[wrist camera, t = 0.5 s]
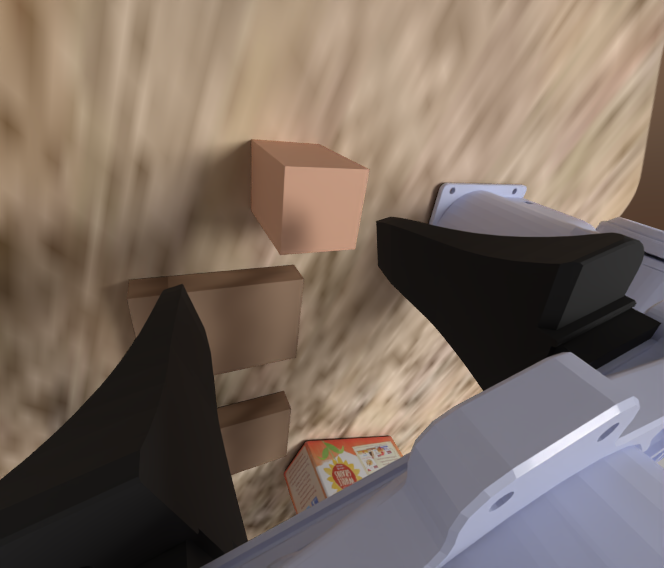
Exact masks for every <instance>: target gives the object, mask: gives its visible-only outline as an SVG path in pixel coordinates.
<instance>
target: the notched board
mask: <svg viewBox="0 0 664 568" xmlns="http://www.w3.org/2000/svg"><path fill="white" fill-rule="evenodd" d="M303 283H304V279H303V277H302V276H301V274H300V273H299V271H298V270H297V268H296V267H295V266H294V265H288V266H277V267H266V268H255V269H244V270H233V271H222V272H211V273H200V274H189V275H178V276H167V277H156V278H145V279H135V280H129V285H128V294H127V302H128V306H129V310H130V315H131V319H132V323H133V328H134V332H135V336H136V337H137V336H138V334H139V333H140V331H141V329H142V328H143V326H144V324H145V322H146V321H147V319H148V317H149V315H150V313H151V312H152V310H153V308H154V306H155V304H156V302H157V300H158V298H159V297H160V295H161V293H162V291H163V290H165V289H168V288H171V287H174V286H177V285H180V284H183V285H184V287H185V289H186V291H187V293H188V295H189V297H190V299H191V301H192V303H193V305H194V308H195V310H196V312H197V314H198V316H199V318H200V320H201V322H202V324H203V326H204V328H205V331H206V335H207V338H208V342H209V347H210V351H211V357H212V366H213V375H217V374H222V373H227V372H231V371H236V370H241V369H245V368H250V367H254V366H259V365H264V364H268V363H273V362H278V361H282V360H287V359H291V358H296V353H297V343H298V333H299V323H300V313H301V303H302V293H303ZM217 413H218V419H219V425H220V429H221V434H222V438H223V443H224V447H225V452H226V456H227V460H228V465H229V469H230V473H231V475H233V474H236V473H238V472H241V471H244V470H247V469H250V468H253V467H256V466H259V465H262V464H265V463H268V462H270V461H273V460H276V459H279V458H282V457H285V456H286V453H287V443H288V433H289V423H290V413H291V408H290V405H289V403H288V400H287V398H286V395H285V393H284V391H282V392H279V393H275V394H271V395H267V396H263V397H259V398H255V399H251V400H247V401H243V402H240V403H236V404H232V405H228V406H224V407H220V408H217Z"/></svg>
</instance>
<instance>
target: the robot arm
mask: <svg viewBox="0 0 664 568" xmlns="http://www.w3.org/2000/svg"><path fill="white" fill-rule="evenodd" d="M451 188H452V189H451ZM450 190H451V191H450ZM525 192H526V186H524V185H520V184H477V183H444V184H443V185H442V186H441V187H440V189H439V192H438V196H437V199H436V202H435V206H434V209H433V212H432V216H431V219H430V222H429V224H426V223H421V222H417V221H413V220H408V219H403V218H397V217H388V218H385V219H382V220H379V221H376V225H377V250H378V266H379V268H380V269H381V270H382V272H383V273H384V275H385V276H386V277H387V279H388V280H389V281H390V282H391V284H392V285H393V286H394V287H395V288H396V289H397V290H398V291H399V292H400V293H401V294H402V295H403V296H404V297H405V298H406V299H407V300H408V301H409V302H411V303H412V304H413V305H414V306H415V307H416V308H417V309H418V310H419V311H420V312H421V313H422V314H423V315H424V316H425V317H426V318H427V319H428V320H429V321H430V322H431V323H432V324H433V325H434V326H435V327H436V329H437V330H438V331H439V332H440V334H441V335H442V336H443V337H444V338H445V340H446V341H447V342H448V343H449V345H450V346H451V347H452V348H453V350H454V351H455V352H456V354H457V355H458V356H459V358H460V359H461V360H462V361H463V363H464V364H465V365H466V367H467V368H468V370H469V371H470V373H471V374H472V375H473V377H474V378H475V380H476V381H477V382H478V384H479V385H480V387H481V388H482V390H483V392H481V393H479V394H477V395H475V396H473V397H471V398H469V399H467V400H466V401H464V402H462V403H460V404H458V405H456V406H454V407H453V408H451V409H450V410H448V411H447V412H446V413H444V414H443V415H441V416H440V417H438V418H437V419H435V420H434V421H432V423H431V424H430V425H429V426H428V427H427V428H426V429H425V430H424V431H423V432H422V433H421V435H420V436H419V437H418V438H417V439H416V440H415V443H414V445H413V447H412V450H411V452H410V453H408V454H406V455H404V456H403V457H401V458H399V459H397V460H395V461H393V462H392V463H390V464H388V465H386V466H384V467H382V468H381V469H379V470H377V471H375V472H373V473H372V474H370V475H368V476H366V477H364V478H362V479H361V480H359V481H357V482H355V483H353V484H352V485H350V486H348V487H346V488H344V489H342V490H341V491H339V492H337V493H335V494H333V495H331V496H330V497H328V498H326V499H324V500H322V501H321V502H319V503H317V504H315V505H313V506H311V507H310V508H308V509H306V510H304V511H302V512H300V513H299V514H297V515H295V516H293V517H291V518H290V519H288V520H286V521H284V522H282V523H280V524H279V525H277V526H275V527H273V528H271V529H269V530H268V531H266V532H264V533H262V534H260V535H259V536H257V537H255V538H253V539H251V540H249V541H248V540H247V536H246V532H245V528H244V525H243V521H242V517H241V513H240V509H239V505H238V501H237V497H236V493H235V489H234V485H233V481H232V477H231V473H230V469H229V465H228V460H227V456H226V452H225V447H224V443H223V438H222V434H221V429H220V425H219V419H218V413H217V405H216V395H215V385H214V375H213V366H212V357H211V351H210V347H209V342H208V338H207V335H206V331H205V328H204V326H203V324H202V322H201V320H200V318H199V316H198V314H197V312H196V310H195V308H194V305H193V303H192V301H191V299H190V297H189V295H188V293H187V291H186V289H185V287H184V285H183V284H180V285H177V286H174V287H171V288H168V289H165V290H163V291H162V293H161V295H160V297H159V298H158V300H157V302H156V304H155V306H154V308H153V310H152V312H151V313H150V315H149V317H148V319H147V321H146V322H145V324H144V326H143V328H142V329H141V331H140V333H139V334H138V336H137V337H136V339H135V341H134V342H133V344H132V345H131V347H130V348H129V350H128V351H127V353H126V354H125V356H124V357H123V358H122V360H121V361H120V362H119V364H118V365H117V366H116V368H115V369H114V370H113V371H112V373H111V374H110V375H109V376H108V378H107V379H106V380H105V381H104V383H103V384H102V385H101V386H100V387H99V388H98V389H97V390H96V391H95V393H94V394H93V395H92V396H91V397H90V398H89V399H88V400H87V401H86V402H85V403H84V404H83V405H82V406H81V408H80V409H79V410H78V411H77V412H76V413H75V414H74V415H73V416H72V417H71V418H70V419H69V420H68V421H67V422H66V423H65V424H64V425H63V426H62V427H61V428H60V429H59V430H57V431H56V432H55V433H54V434H53V435H52V436H51V437H50V438H49V439H48V440H47V441H46V442H44V443H43V444H42V445H41V446H40V447H39V448H38V449H37V450H36V451H34V452H33V453H32V454H31V455H30V456H29V457H28V458H26V459H25V460H24V461H23V462H22V463H20V464H19V465H18V466H17V467H16V468H14V469H13V470H12V471H11V472H9V473H8V474H7V475H6V476H5V477H3V478H2V479H1V480H0V568H664V468H662V467H661V466H660V465H659V464H657V462H659V461H660V460H661V459H662V458H664V231H662V230H658V229H656V228H653V227H650V226H646V225H643V224H640V223H637V222H634V221H631V220H628V219H624V218H621V217H617V218H614V219H611V220H609V221H601V222H600V223H599V225H598V227H597V228H596V229H595V228H594V227H593V226H592V225H590V224H589V223H587V222H585V221H583V220H581V219H578V218H575V217H573V216H570V215H567V214H564V213H562V212H559V211H556V210H554V209H551V208H548V207H546V206H543V205H540V204H538V203H535V202H532V201H529V200H527V199H524V198H523V197H524V195H525Z"/></svg>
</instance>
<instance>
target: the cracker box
mask: <svg viewBox="0 0 664 568" xmlns="http://www.w3.org/2000/svg"><path fill="white" fill-rule="evenodd" d="M401 457H403V455H402V454H401V452H400V450H399V449H398V447H397V446H396V444H395V442H394V441H393V439H392V437H391V436H385V437H368V438H352V439H336V440H318V441H306V442H305V443H304V445H303V446H302V448H301V449H300V451H299V452H298V453H297V455H296V456H295V458H294V459H293V461H292V462H291V463H290V465H289V466H288V468H287V469H286V471H285V472H284V477H285V480H286V483H287V486H288V490H289V493H290V496H291V500H292V503H293V505H294V509H295V512H296V515H297V514H299V513H300V512H302V511H304V510H306V509H308V508H310V507H311V506H313V505H315V504H317V503H319V502H321V501H322V500H324V499H326V498H328V497H330V496H331V495H333V494H335V493H337V492H339V491H341V490H342V489H344V488H346V487H348V486H350V485H352V484H353V483H355V482H357V481H359V480H361V479H362V478H364V477H366V476H368V475H370V474H372V473H373V472H375V471H377V470H379V469H381V468H382V467H384V466H386V465H388V464H390V463H392V462H393V461H395V460H397V459H399V458H401Z"/></svg>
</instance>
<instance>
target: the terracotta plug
mask: <svg viewBox="0 0 664 568" xmlns="http://www.w3.org/2000/svg"><path fill="white" fill-rule="evenodd" d="M369 171H370V169H368V168H366V167H364V166H362V165H360V164H358V163H356V162H354V161H352V160H350V159H348V158H346V157H344V156H342V155H340V154H338V153H336V152H334V151H332V150H330V149H328V148H326V147H324V146H322V145H320V144H309V143H295V142H281V141H267V140H254V139H251V211H252V213H253V214H254V216H255V217H256V219H257V220H258V222H259V223H260V225H261V226H262V228H263V229H264V231H265V232H266V234H267V235H268V237H269V238H270V240H271V242H272V243H273V245H274V246H275V248H276V249H277V251H278V252H279V254H280V255H286V254H299V253H312V252H324V251H337V250H350V249H355V247H356V242H357V236H358V231H359V225H360V220H361V214H362V209H363V203H364V198H365V192H366V187H367V181H368V176H369Z"/></svg>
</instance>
